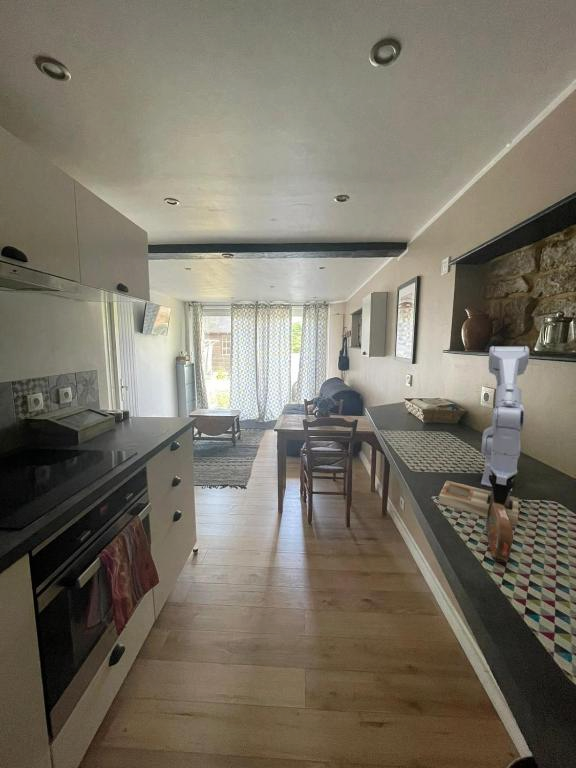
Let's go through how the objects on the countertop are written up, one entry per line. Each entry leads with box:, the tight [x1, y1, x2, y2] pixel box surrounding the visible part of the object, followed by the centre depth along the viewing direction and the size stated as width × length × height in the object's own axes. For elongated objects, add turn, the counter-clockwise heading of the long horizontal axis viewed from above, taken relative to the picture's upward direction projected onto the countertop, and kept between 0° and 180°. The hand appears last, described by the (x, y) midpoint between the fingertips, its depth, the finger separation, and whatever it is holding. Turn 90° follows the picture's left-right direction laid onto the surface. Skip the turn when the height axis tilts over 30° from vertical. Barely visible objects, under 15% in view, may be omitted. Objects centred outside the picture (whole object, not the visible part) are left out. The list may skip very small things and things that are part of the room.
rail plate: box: [438, 480, 519, 527], centre depth 85 cm, size 11×18×3 cm, turn 52°
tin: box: [485, 502, 514, 561], centre depth 68 cm, size 15×3×8 cm, turn 153°
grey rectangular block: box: [489, 487, 511, 510], centre depth 82 cm, size 4×4×7 cm
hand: (500, 499), depth 82 cm, fingers closed on grey rectangular block, 4 cm apart
